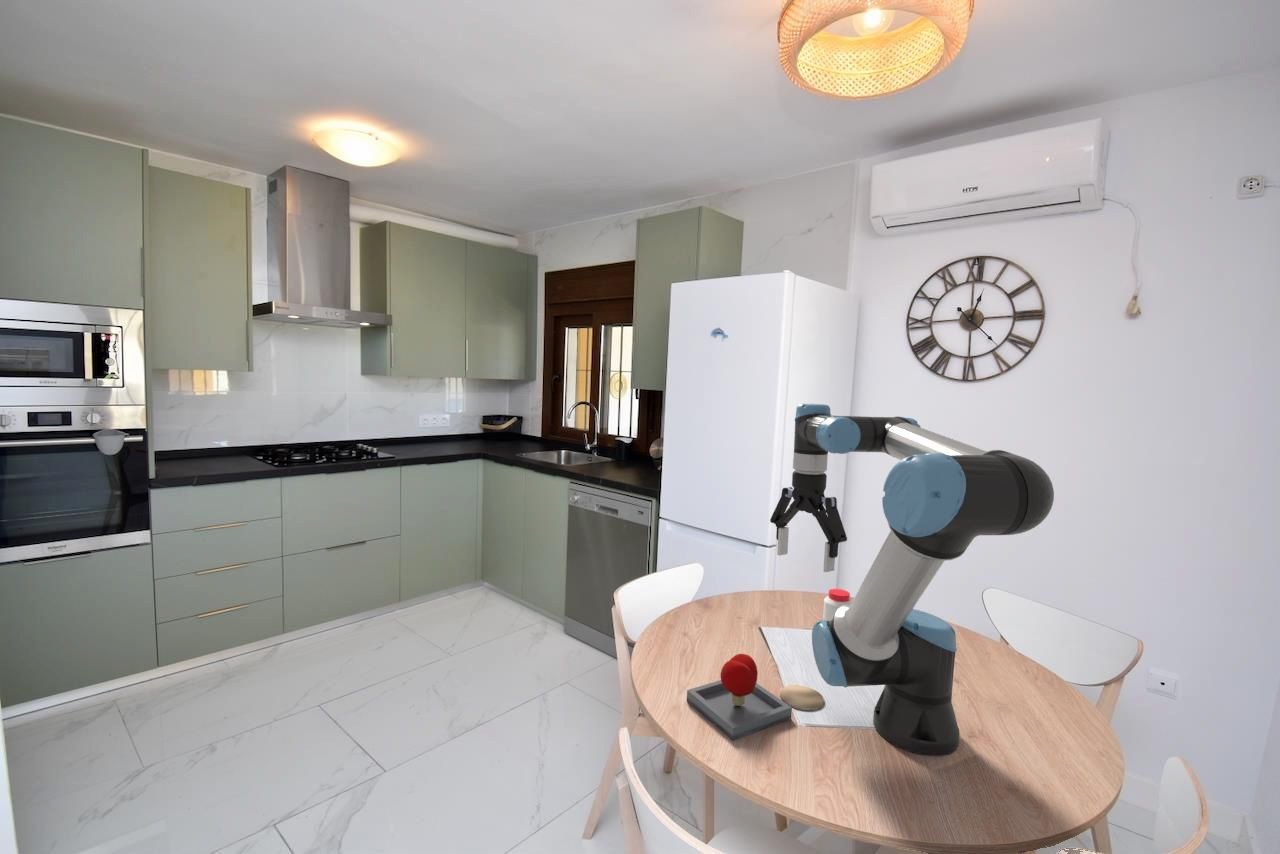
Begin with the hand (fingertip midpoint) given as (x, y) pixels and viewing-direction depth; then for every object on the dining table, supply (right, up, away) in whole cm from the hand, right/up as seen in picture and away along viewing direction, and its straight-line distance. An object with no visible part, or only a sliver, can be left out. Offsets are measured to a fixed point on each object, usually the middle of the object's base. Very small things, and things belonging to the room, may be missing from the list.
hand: (804, 562), depth 134 cm
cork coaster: (-4, -27, -10) cm, 29 cm away
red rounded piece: (-18, -26, -15) cm, 35 cm away
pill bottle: (+16, -25, +24) cm, 38 cm away
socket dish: (-18, -27, -15) cm, 36 cm away
